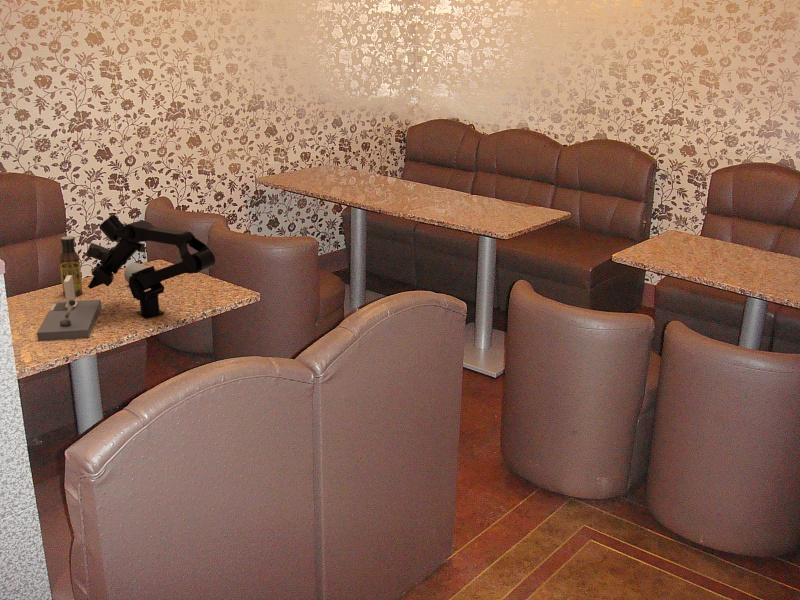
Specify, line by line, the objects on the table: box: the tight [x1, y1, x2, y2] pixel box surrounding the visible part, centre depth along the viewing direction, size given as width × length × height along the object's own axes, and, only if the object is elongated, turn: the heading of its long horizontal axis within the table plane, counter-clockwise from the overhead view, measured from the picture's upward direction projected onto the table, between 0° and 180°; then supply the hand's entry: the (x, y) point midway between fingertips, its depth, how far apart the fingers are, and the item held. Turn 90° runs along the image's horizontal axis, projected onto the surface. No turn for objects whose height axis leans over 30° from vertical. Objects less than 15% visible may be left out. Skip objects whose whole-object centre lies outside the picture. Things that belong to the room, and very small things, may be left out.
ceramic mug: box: [123, 262, 149, 284], centre depth 277 cm, size 11×8×8 cm
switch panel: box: [36, 299, 102, 341], centre depth 243 cm, size 14×26×4 cm, turn 12°
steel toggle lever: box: [65, 300, 75, 318], centre depth 234 cm, size 2×2×6 cm
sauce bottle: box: [59, 235, 83, 297], centre depth 264 cm, size 6×6×20 cm
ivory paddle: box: [64, 275, 78, 309], centre depth 248 cm, size 3×6×9 cm, turn 12°
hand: (89, 287), depth 249 cm, fingers closed
